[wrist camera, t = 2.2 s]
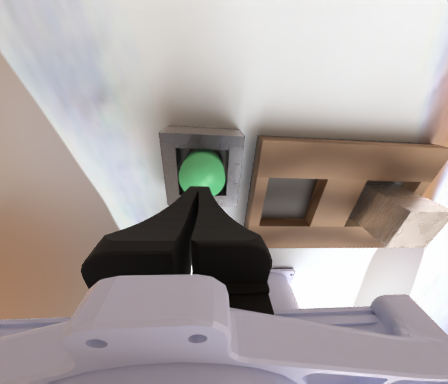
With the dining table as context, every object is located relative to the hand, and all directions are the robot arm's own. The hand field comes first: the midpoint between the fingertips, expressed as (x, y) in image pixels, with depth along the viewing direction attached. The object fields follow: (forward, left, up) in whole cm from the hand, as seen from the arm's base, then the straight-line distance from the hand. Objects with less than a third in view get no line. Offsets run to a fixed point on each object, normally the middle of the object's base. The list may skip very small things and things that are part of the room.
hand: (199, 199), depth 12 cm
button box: (0, 0, -8) cm, 8 cm away
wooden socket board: (-4, -16, -8) cm, 18 cm away
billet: (-4, -21, -7) cm, 23 cm away
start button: (0, 0, -6) cm, 6 cm away
